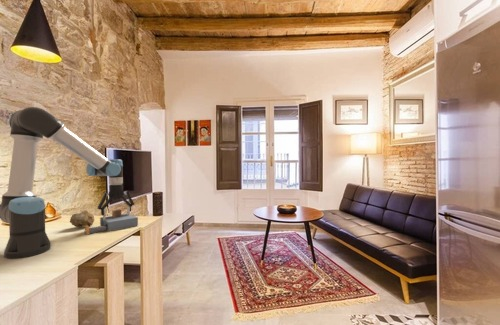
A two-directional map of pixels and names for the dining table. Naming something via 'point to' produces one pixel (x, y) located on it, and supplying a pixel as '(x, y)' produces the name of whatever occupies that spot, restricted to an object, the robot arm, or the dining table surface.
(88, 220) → the rock
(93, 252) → the dining table surface
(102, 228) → the lock pin
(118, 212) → the peg
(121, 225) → the dock block
